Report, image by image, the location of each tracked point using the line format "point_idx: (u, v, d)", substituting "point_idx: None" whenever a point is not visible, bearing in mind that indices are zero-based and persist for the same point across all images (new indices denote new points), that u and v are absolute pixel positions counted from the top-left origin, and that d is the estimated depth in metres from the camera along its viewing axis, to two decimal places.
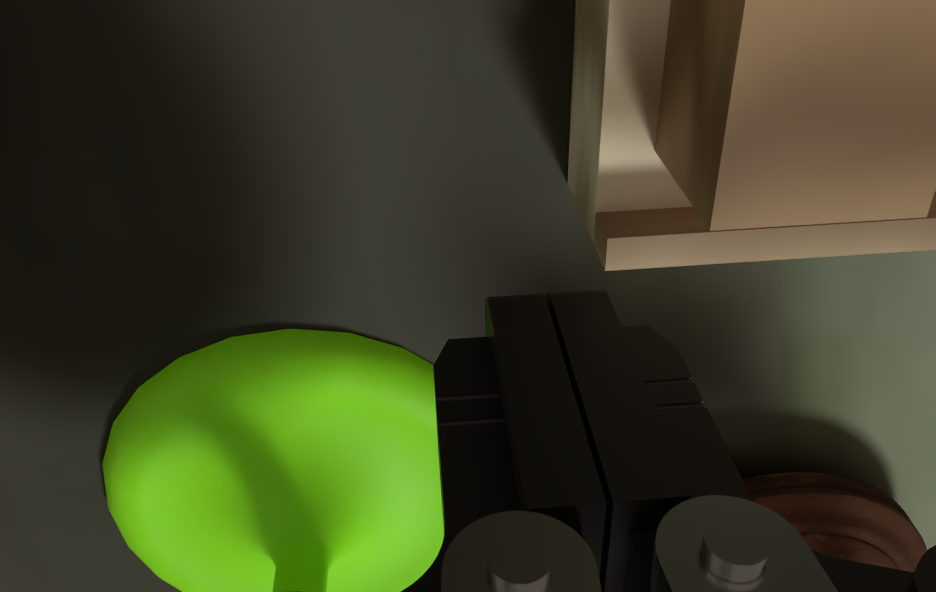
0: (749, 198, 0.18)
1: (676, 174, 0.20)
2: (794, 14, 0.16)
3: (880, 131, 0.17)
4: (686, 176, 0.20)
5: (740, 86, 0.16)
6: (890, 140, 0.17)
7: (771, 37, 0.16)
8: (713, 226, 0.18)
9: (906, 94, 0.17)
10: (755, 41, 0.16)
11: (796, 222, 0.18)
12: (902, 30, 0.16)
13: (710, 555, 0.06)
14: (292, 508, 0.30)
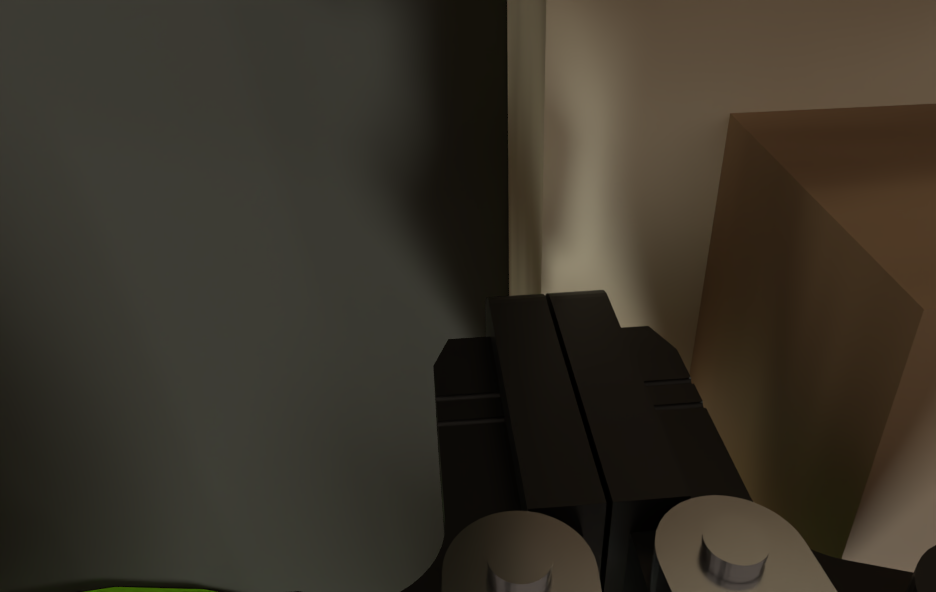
0: None
1: None
2: None
3: None
4: None
5: (891, 465, 0.07)
6: None
7: None
8: None
9: None
10: (934, 388, 0.07)
11: None
12: None
13: (709, 556, 0.06)
14: None
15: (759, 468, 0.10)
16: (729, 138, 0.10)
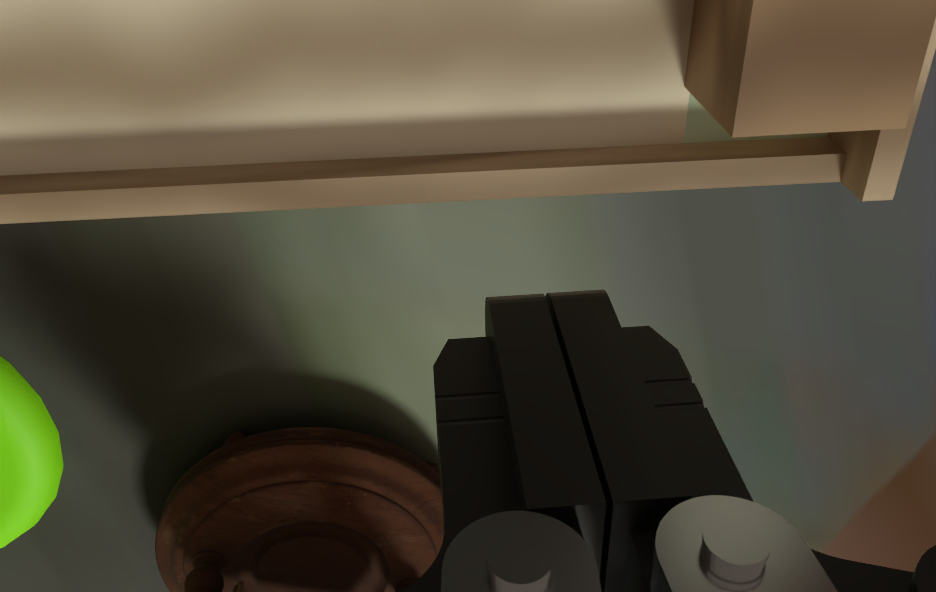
0: (763, 110, 0.23)
1: (703, 100, 0.25)
2: None
3: (867, 55, 0.22)
4: (712, 99, 0.24)
5: (757, 16, 0.21)
6: (875, 63, 0.22)
7: None
8: (735, 133, 0.23)
9: (887, 25, 0.22)
10: None
11: (801, 131, 0.23)
12: None
13: (710, 556, 0.06)
14: None
15: (716, 66, 0.24)
16: None
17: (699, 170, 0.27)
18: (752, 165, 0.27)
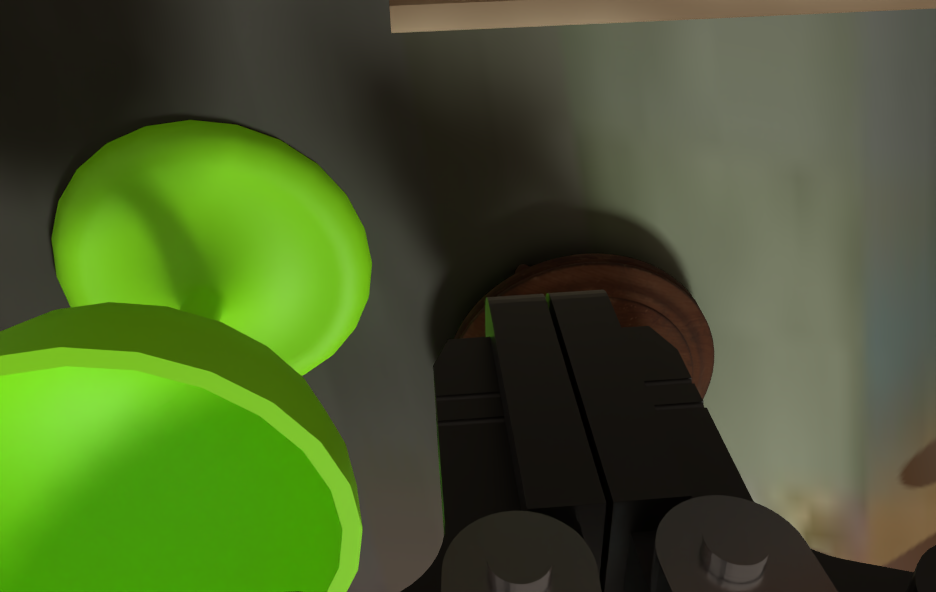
0: None
1: None
2: None
3: None
4: None
5: None
6: None
7: None
8: None
9: None
10: None
11: None
12: None
13: (710, 555, 0.06)
14: (195, 264, 0.39)
15: None
16: None
17: None
18: None
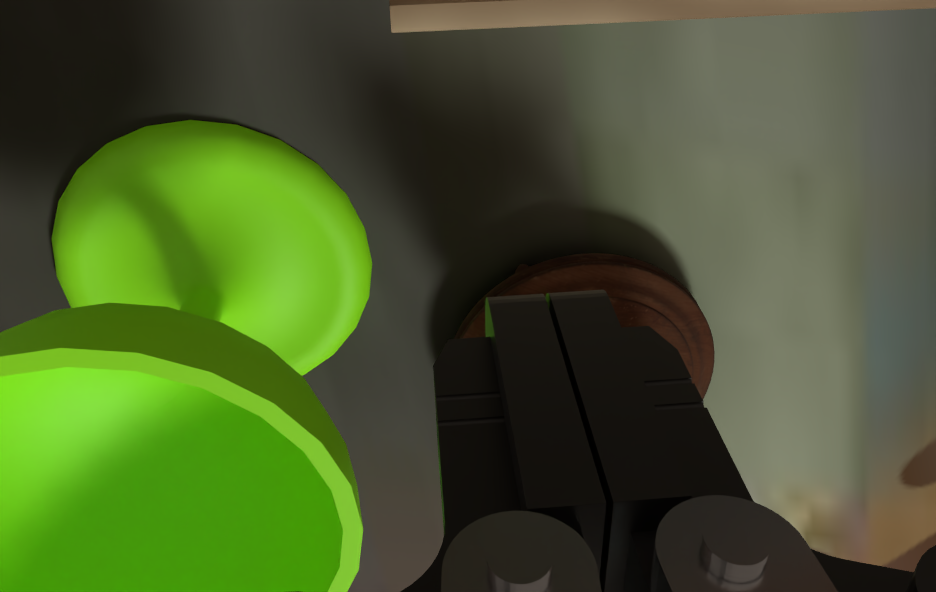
0: None
1: None
2: None
3: None
4: None
5: None
6: None
7: None
8: None
9: None
10: None
11: None
12: None
13: (710, 555, 0.06)
14: (195, 264, 0.39)
15: None
16: None
17: None
18: None
